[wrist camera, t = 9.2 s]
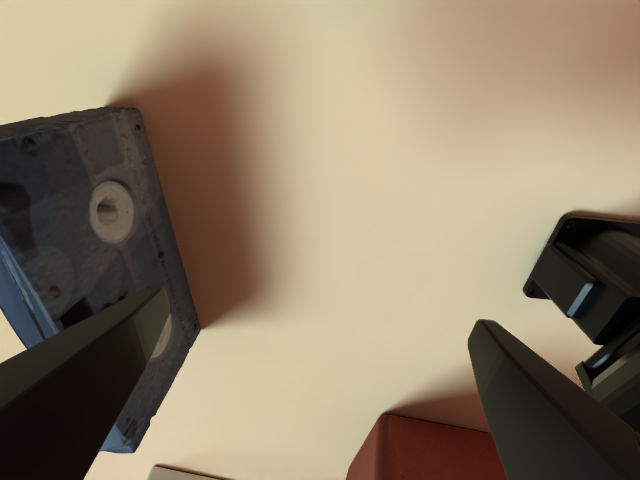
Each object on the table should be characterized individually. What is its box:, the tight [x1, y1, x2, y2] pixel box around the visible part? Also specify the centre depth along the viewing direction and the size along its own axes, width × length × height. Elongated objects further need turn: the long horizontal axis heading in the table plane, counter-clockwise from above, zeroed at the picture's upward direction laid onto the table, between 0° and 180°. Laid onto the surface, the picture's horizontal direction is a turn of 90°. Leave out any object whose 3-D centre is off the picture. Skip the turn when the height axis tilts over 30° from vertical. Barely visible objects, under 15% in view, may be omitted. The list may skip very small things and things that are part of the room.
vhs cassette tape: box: [0, 107, 201, 453], centre depth 18 cm, size 18×3×10 cm, turn 179°
